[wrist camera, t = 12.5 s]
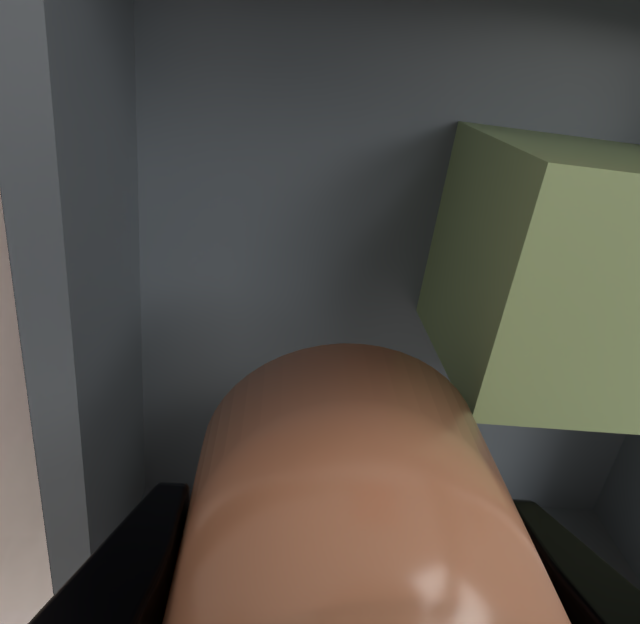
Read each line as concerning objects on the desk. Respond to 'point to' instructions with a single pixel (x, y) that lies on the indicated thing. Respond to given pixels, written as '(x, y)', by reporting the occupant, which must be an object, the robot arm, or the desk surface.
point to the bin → (268, 218)
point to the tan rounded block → (353, 504)
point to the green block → (538, 279)
